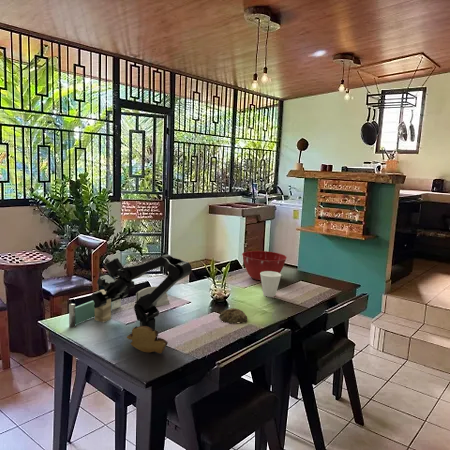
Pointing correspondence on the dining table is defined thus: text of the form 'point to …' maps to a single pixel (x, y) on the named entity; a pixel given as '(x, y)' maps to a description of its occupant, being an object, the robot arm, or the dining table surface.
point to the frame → (115, 305)
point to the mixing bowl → (262, 262)
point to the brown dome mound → (233, 316)
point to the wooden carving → (147, 340)
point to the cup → (270, 282)
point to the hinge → (161, 301)
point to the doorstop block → (103, 310)
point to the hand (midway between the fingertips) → (100, 304)
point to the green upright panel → (85, 312)
